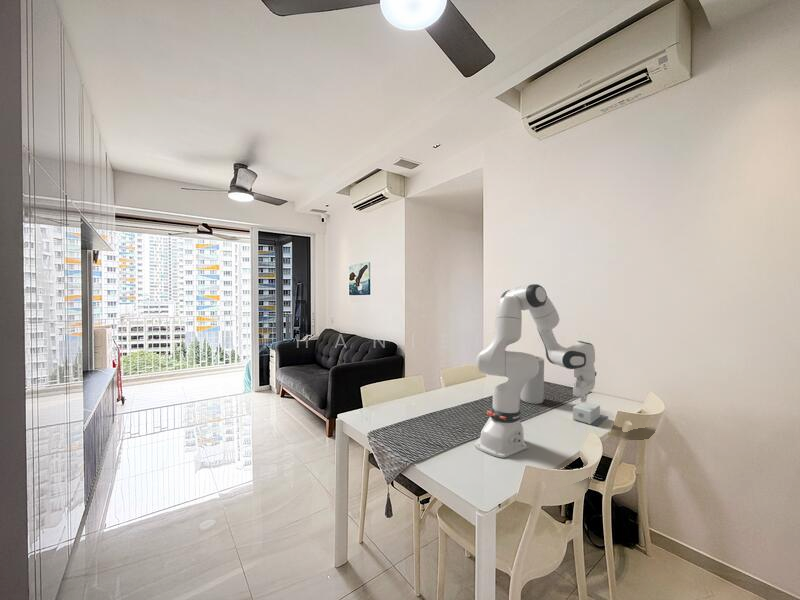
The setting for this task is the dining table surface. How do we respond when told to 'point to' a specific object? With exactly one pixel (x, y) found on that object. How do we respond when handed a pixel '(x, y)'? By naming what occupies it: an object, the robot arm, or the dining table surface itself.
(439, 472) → the dining table surface
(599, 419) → the mat
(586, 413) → the small box
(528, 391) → the cylinder vase
